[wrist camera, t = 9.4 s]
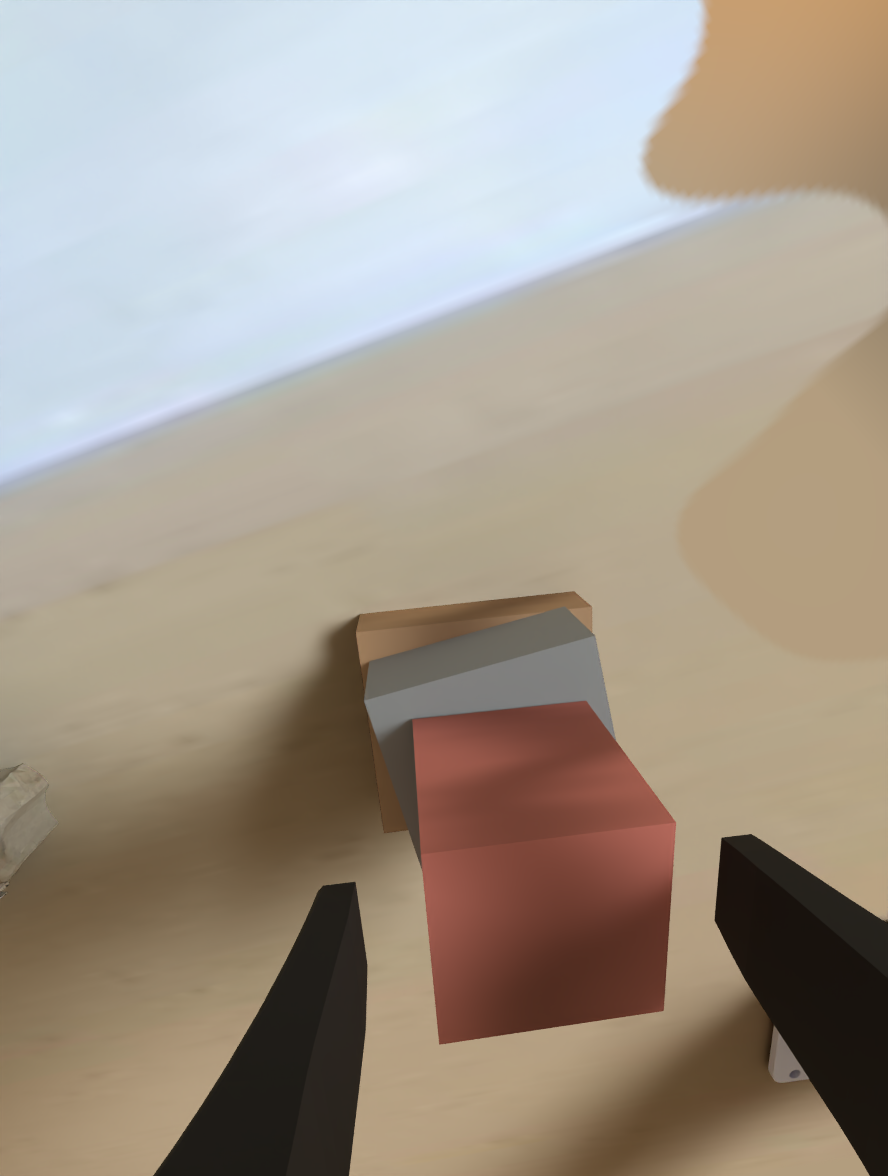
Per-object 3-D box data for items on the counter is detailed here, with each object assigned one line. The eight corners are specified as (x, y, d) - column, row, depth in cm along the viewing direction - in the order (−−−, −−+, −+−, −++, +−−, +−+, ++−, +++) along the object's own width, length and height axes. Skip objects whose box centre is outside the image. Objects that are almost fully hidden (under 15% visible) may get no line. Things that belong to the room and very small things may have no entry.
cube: (586, 700, 14) (676, 822, 9) (585, 844, 15) (663, 1010, 10) (412, 719, 13) (421, 854, 9) (425, 864, 14) (439, 1044, 10)
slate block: (564, 606, 16) (595, 635, 13) (600, 774, 17) (633, 827, 15) (369, 661, 15) (363, 700, 13) (423, 824, 17) (427, 886, 15)
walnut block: (566, 585, 18) (592, 606, 16) (570, 761, 20) (593, 805, 17) (361, 606, 18) (355, 632, 15) (386, 785, 20) (384, 832, 17)
